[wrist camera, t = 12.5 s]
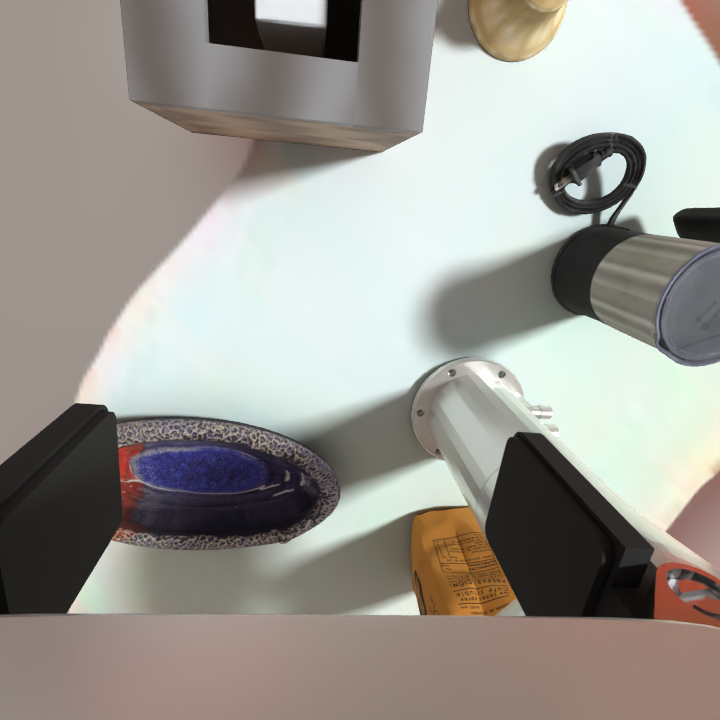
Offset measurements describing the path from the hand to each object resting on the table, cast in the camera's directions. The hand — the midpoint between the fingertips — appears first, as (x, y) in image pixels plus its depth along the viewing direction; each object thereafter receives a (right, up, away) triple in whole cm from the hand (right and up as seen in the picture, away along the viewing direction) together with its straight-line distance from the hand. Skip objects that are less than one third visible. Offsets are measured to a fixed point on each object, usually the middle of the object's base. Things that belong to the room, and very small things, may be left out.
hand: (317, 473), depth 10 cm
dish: (-17, -9, +37) cm, 42 cm away
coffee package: (+11, -20, +45) cm, 51 cm away
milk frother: (+23, +15, +33) cm, 43 cm away
